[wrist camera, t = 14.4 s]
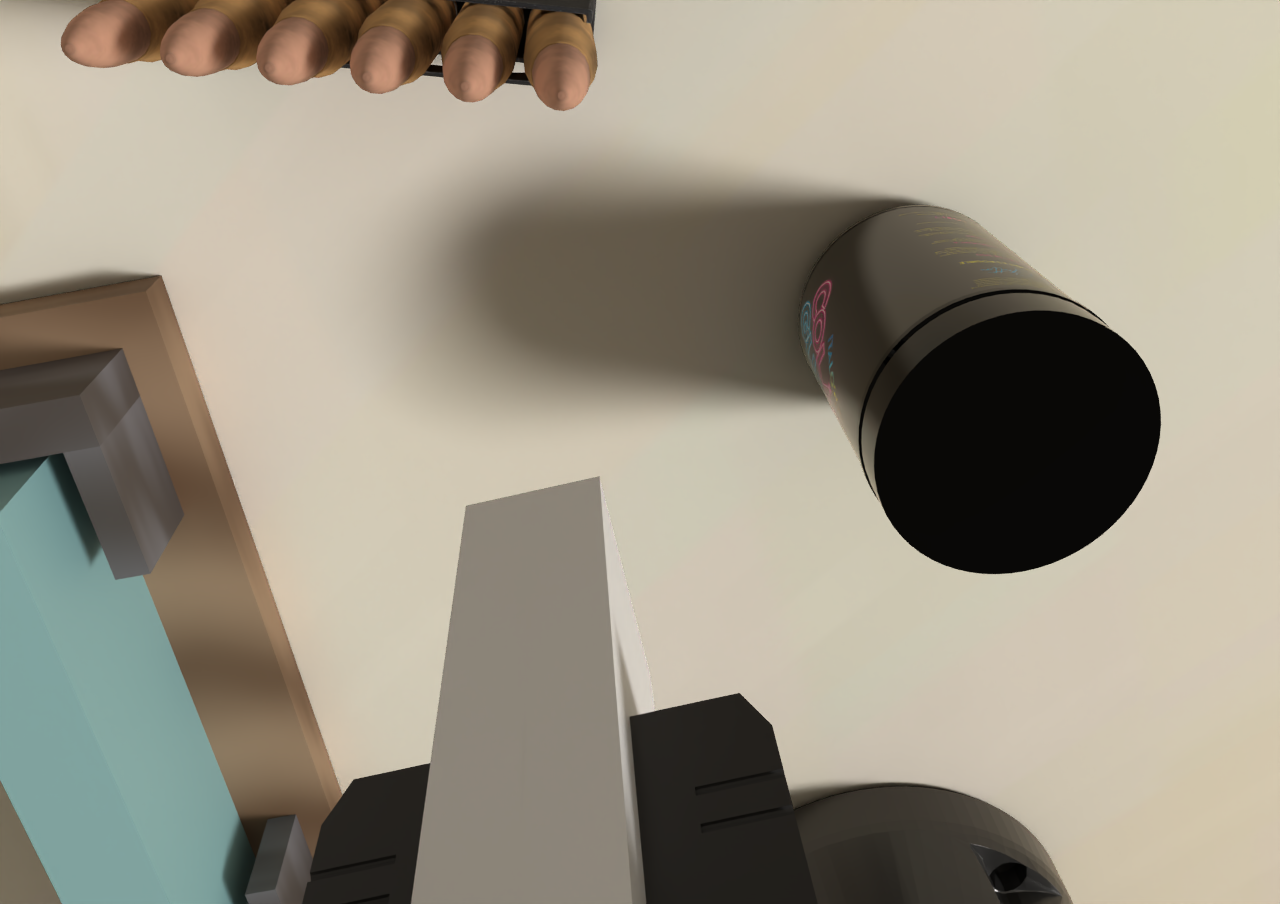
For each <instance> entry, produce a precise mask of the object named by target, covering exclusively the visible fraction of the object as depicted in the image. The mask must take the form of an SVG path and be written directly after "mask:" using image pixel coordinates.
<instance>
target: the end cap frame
mask: <svg viewBox="0 0 1280 904" xmlns="http://www.w3.org/2000/svg"><path fill="white" fill-rule="evenodd" d="M60 453H63V454H64V456H65V459H66V461H67V464H68V466H69V469H70V471H71V473H72V476H73V478H74V481H75V483H76V486H77V488H78V490H79V493H80V495H81V498H82V500H83V503H84V505H85V507H86V510H87V512H88V515H89V517H90V520H91V522H92V524H93V527H94V529H95V532H96V534H97V537H98V539H99V541H100V544H101V546H102V549H103V551H104V554H105V556H106V559H107V561H108V563H109V566H110V568H111V571H112V573H113V576H114V578H115V580H118V579H124V578H129V577H135V576H141V575H143V577H144V580H145V582H146V585H147V587H148V590H149V592H150V595H151V597H152V600H153V602H154V605H155V607H156V610H157V612H158V615H159V617H160V620H161V622H162V625H163V627H164V630H165V632H166V635H167V637H168V640H169V642H170V645H171V647H172V650H173V652H174V655H175V657H176V660H177V662H178V665H179V667H180V670H181V672H182V675H183V677H184V680H185V682H186V685H187V688H188V690H189V693H190V695H191V698H192V700H193V703H194V705H195V708H196V710H197V713H198V715H199V718H200V720H201V723H202V725H203V728H204V730H205V733H206V735H207V738H208V740H209V743H210V745H211V748H212V750H213V753H214V755H215V758H216V760H217V763H218V765H219V768H220V770H221V773H222V775H223V778H224V780H225V783H226V785H227V788H228V790H229V793H230V795H231V798H232V800H233V803H234V805H235V808H236V810H237V813H238V816H239V818H240V821H241V823H242V826H243V828H244V831H245V833H246V836H247V838H248V841H249V843H250V846H251V848H252V851H253V853H254V856H255V858H256V860H255V863H254V866H253V870H252V873H251V876H250V880H249V883H248V886H247V889H246V893H245V896H246V899H247V901H248V904H302V902H303V898H304V894H305V890H306V886H307V882H311V876H310V869H311V865H312V861H313V857H314V853H315V849H316V845H317V841H318V837H319V832H320V828H321V825H322V823H323V822H324V821H325V819H326V818H327V816H328V815H329V814H330V812H331V811H332V809H333V808H334V807H335V805H336V804H337V802H338V801H339V800H340V798H341V797H342V793H341V790H340V787H339V784H338V781H337V779H336V776H335V773H334V770H333V767H332V764H331V761H330V759H329V756H328V753H327V750H326V747H325V744H324V741H323V738H322V736H321V733H320V730H319V727H318V724H317V721H316V718H315V715H314V713H313V710H312V707H311V704H310V701H309V698H308V695H307V692H306V690H305V687H304V684H303V681H302V678H301V675H300V672H299V670H298V667H297V664H296V661H295V658H294V655H293V652H292V649H291V647H290V644H289V641H288V638H287V635H286V632H285V629H284V626H283V624H282V621H281V618H280V615H279V612H278V609H277V606H276V603H275V601H274V598H273V595H272V592H271V589H270V586H269V583H268V580H267V578H266V575H265V572H264V569H263V566H262V563H261V560H260V558H259V555H258V552H257V549H256V546H255V543H254V540H253V537H252V535H251V532H250V529H249V526H248V523H247V520H246V517H245V514H244V512H243V509H242V506H241V503H240V500H239V497H238V494H237V491H236V489H235V486H234V483H233V480H232V477H231V474H230V471H229V469H228V466H227V463H226V460H225V457H224V454H223V451H222V448H221V446H220V443H219V440H218V437H217V434H216V431H215V428H214V425H213V423H212V420H211V417H210V414H209V411H208V408H207V405H206V402H205V400H204V397H203V394H202V391H201V388H200V385H199V382H198V380H197V377H196V374H195V371H194V368H193V365H192V362H191V359H190V357H189V354H188V351H187V348H186V345H185V342H184V339H183V336H182V334H181V331H180V328H179V325H178V322H177V319H176V316H175V313H174V311H173V308H172V305H171V302H170V299H169V296H168V293H167V290H166V288H165V285H164V282H163V279H162V276H156V277H151V278H145V279H140V280H134V281H128V282H123V283H117V284H112V285H106V286H101V287H95V288H90V289H84V290H79V291H73V292H68V293H62V294H56V295H51V296H45V297H40V298H34V299H29V300H23V301H18V302H12V303H7V304H1V305H0V464H4V463H9V462H15V461H21V460H26V459H32V458H37V457H43V456H48V455H54V454H60Z"/></svg>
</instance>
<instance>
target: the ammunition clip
mask: <svg viewBox="0 0 1280 904" xmlns="http://www.w3.org/2000/svg"><path fill="white" fill-rule="evenodd" d="M595 8H596V0H102V1H100V2H99V3H98V4H95V5H92V6H89V7H88V8H86V9H85V10H83V11H82V12H81V13H79V14H78V15H77V16H76V17H74V18H73V19H72V20H71V21H70V22H69V24H68V25H67V27H66V29H65V31H64V33H63V35H62V38H61V47H62V51H63V52H64V54H65V55H66V56H67V57H68V58H69V59H70V60H72V61H74V62H76V63H78V64H81V65H84V66H88V67H98V68H108V67H116V66H119V65H123V64H126V63H132V62H135V61H145V62H155V61H158V60H162V61H163V63H164V65H165V66H166V67H167V68H169V69H170V70H171V71H174V72H176V73H178V74H181V75H184V76H196V77H198V76H205V75H209V74H213V73H216V72H219V71H222V70H225V69H231V70H238V69H242V68H245V67H249V66H251V65H253V64H255V63H256V62H257V65H258V69H259V71H260V72H261V74H262V75H263V76H264V77H265V78H266V79H267V80H269V81H271V82H274V83H276V84H281V85H294V84H298V83H301V82H305V81H307V80H309V79H310V78H313V77H316V78H320V77H323V76H327V75H331V74H333V73H334V72H336V71H337V70H338V69H340V68H350V69H351V75H352V77H353V79H354V81H355V82H356V84H357V85H358V86H359V87H360V88H362V89H363V90H365V91H368V92H370V93H378V94H382V93H386V92H389V91H392V90H395V89H397V88H398V87H399V86H401V85H404V84H407V83H411V82H413V81H415V80H416V79H418V78H419V77H420V76H422V75H425V76H436V77H444V82H445V84H446V86H447V88H448V90H449V92H450V93H451V94H453V95H454V96H455V97H456V98H457V99H460V100H462V101H464V102H476V101H480V100H483V99H484V98H486V97H487V96H488V95H490V94H491V93H493V92H494V90H496V89H497V88H498V87H500V86H501V85H502V84H504V83H510V84H520V85H531V86H533V87H534V89H535V91H536V93H537V95H538V97H539V98H540V100H541V101H542V102H543V103H544V104H545V105H546V106H548V107H550V108H552V109H554V110H561V111H565V110H569V109H572V108H574V107H576V106H577V105H578V104H580V103H581V101H582V100H583V98H584V97H585V95H586V94H587V92H588V89H589V86H590V85H591V83H592V82H593V80H594V78H595V74H596V70H597V66H598V65H597V53H596V47H595V42H594V37H593V33H594V21H595ZM438 54H440V55H441V56H442V64H443V66H438V65H431V63H432V62H433V60H434V59H435V57H436V56H437V55H438ZM515 62H522V63H524V67H525V73H512V71H513V69H514V65H515Z"/></svg>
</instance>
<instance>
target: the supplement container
mask: <svg viewBox="0 0 1280 904" xmlns="http://www.w3.org/2000/svg"><path fill="white" fill-rule="evenodd" d="M798 329H799V338H800V342H801V347H802V350H803V353H804V356H805V358H806V360H807V362H808V365H809V367H810V369H811V370H812V372H813V374H814V376H815V378H816V380H817V382H818V384H819V386H820V387H821V389H822V391H823V393H824V395H825V397H826V399H827V401H828V403H829V404H830V406H831V408H832V410H833V412H834V414H835V416H836V418H837V420H838V422H839V423H840V425H841V427H842V429H843V431H844V433H845V435H846V437H847V439H848V440H849V442H850V444H851V446H852V448H853V450H854V452H855V454H856V456H857V457H858V459H859V461H860V463H861V466H862V469H863V472H864V475H865V477H866V479H867V481H868V484H869V486H870V488H871V489H872V491H873V493H874V494H875V496H876V497H877V499H878V500H879V502H880V504H881V506H882V508H883V509H884V511H885V513H886V515H887V517H888V518H889V520H890V522H891V523H892V525H893V526H894V528H895V529H896V530H897V531H898V533H899V534H900V535H901V536H902V537H903V538H904V539H905V540H906V541H907V542H908V543H909V544H910V545H911V546H912V547H914V548H915V549H916V550H918V551H919V552H920V553H922V554H924V555H925V556H927V557H929V558H930V559H932V560H934V561H936V562H939V563H941V564H943V565H946V566H949V567H952V568H955V569H958V570H963V571H967V572H974V573H982V574H1005V573H1015V572H1022V571H1027V570H1031V569H1035V568H1039V567H1042V566H1045V565H1048V564H1051V563H1054V562H1056V561H1059V560H1061V559H1063V558H1066V557H1067V556H1069V555H1071V554H1073V553H1075V552H1077V551H1079V550H1080V549H1082V548H1084V547H1085V546H1087V545H1088V544H1090V543H1091V542H1093V541H1094V540H1095V539H1097V538H1098V537H1099V536H1101V535H1102V534H1103V533H1104V532H1106V531H1107V530H1108V529H1109V528H1110V527H1111V526H1112V525H1113V524H1114V523H1115V522H1116V521H1117V520H1118V519H1119V518H1120V517H1121V516H1122V515H1123V514H1124V513H1125V511H1126V510H1127V509H1128V508H1129V506H1130V505H1131V504H1132V503H1133V501H1134V500H1135V498H1136V497H1137V495H1138V494H1139V492H1140V491H1141V489H1142V487H1143V485H1144V483H1145V481H1146V479H1147V478H1148V475H1149V473H1150V470H1151V468H1152V466H1153V463H1154V459H1155V456H1156V453H1157V449H1158V444H1159V439H1160V428H1161V413H1160V404H1159V398H1158V394H1157V390H1156V387H1155V384H1154V381H1153V379H1152V376H1151V374H1150V372H1149V370H1148V368H1147V367H1146V365H1145V363H1144V361H1143V360H1142V359H1141V357H1140V356H1139V355H1138V353H1137V352H1136V351H1135V350H1134V349H1133V348H1132V347H1131V346H1130V344H1129V343H1128V342H1127V341H1125V340H1124V339H1123V338H1122V337H1120V336H1119V335H1118V334H1117V333H1116V332H1114V331H1113V330H1112V329H1111V328H1109V327H1108V326H1107V325H1106V324H1105V323H1104V322H1103V320H1102V319H1100V318H1099V317H1098V316H1097V315H1095V314H1094V313H1093V312H1092V311H1090V310H1089V309H1088V308H1086V307H1085V306H1083V305H1081V304H1080V303H1078V302H1076V301H1074V300H1072V299H1071V298H1070V297H1069V296H1067V295H1066V294H1065V293H1064V292H1062V291H1061V290H1060V289H1059V288H1057V287H1056V286H1055V285H1054V284H1053V283H1051V282H1050V281H1049V280H1048V279H1046V278H1045V277H1044V276H1043V275H1041V274H1040V273H1039V272H1038V271H1036V270H1035V269H1034V268H1033V267H1031V266H1030V265H1029V264H1028V263H1027V262H1025V261H1024V260H1023V259H1022V258H1020V257H1019V256H1018V255H1017V254H1015V253H1014V252H1013V251H1012V250H1010V249H1009V248H1008V247H1007V246H1005V245H1004V244H1003V243H1002V242H1001V241H999V240H998V239H997V238H996V237H994V236H993V235H992V234H991V233H989V232H988V231H987V230H986V229H984V228H983V227H982V226H981V225H979V224H978V223H977V222H975V221H974V220H972V219H971V218H969V217H967V216H965V215H963V214H961V213H959V212H956V211H953V210H950V209H947V208H942V207H938V206H930V205H908V206H900V207H895V208H891V209H887V210H884V211H881V212H878V213H876V214H873V215H871V216H868V217H866V218H865V219H863V220H861V221H859V222H857V223H856V224H854V225H853V226H851V227H850V228H848V229H847V230H846V231H844V232H843V233H842V234H841V235H839V236H838V237H837V238H836V239H835V240H834V241H833V242H832V243H831V244H830V245H829V246H828V247H827V249H826V250H825V251H824V252H823V253H822V255H821V256H820V257H819V259H818V260H817V262H816V263H815V265H814V267H813V269H812V270H811V272H810V274H809V276H808V279H807V281H806V283H805V286H804V289H803V292H802V296H801V300H800V305H799V314H798Z"/></svg>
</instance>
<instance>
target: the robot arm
mask: <svg viewBox="0 0 1280 904" xmlns="http://www.w3.org/2000/svg"><path fill="white" fill-rule="evenodd" d="M310 876H311V882H307V886H306V890H305V894H304V898H303V902H302V904H1073V902H1072V900H1071V898H1070V896H1069V894H1068V892H1067V890H1066V888H1065V886H1064V884H1063V882H1062V880H1061V878H1060V876H1059V874H1058V872H1057V870H1056V868H1055V866H1054V864H1053V862H1052V860H1051V858H1050V856H1049V855H1048V853H1047V852H1046V850H1045V849H1044V847H1043V846H1042V844H1041V843H1040V842H1039V841H1038V840H1037V838H1036V837H1035V836H1034V835H1033V834H1032V833H1031V832H1030V831H1029V830H1028V829H1027V828H1026V827H1024V826H1023V825H1022V824H1021V823H1020V822H1018V821H1017V820H1016V819H1014V818H1013V817H1011V816H1010V815H1008V814H1007V813H1005V812H1003V811H1001V810H1000V809H998V808H996V807H994V806H992V805H990V804H988V803H985V802H983V801H980V800H978V799H975V798H972V797H969V796H966V795H962V794H959V793H954V792H950V791H945V790H939V789H933V788H923V787H882V788H871V789H864V790H858V791H853V792H848V793H843V794H839V795H836V796H832V797H828V798H825V799H822V800H819V801H816V802H813V803H811V804H808V805H805V806H803V807H800V808H798V809H796V810H793V805H792V801H791V797H790V793H789V790H788V786H787V782H786V778H785V775H784V770H783V766H782V762H781V758H780V755H779V751H778V747H777V743H776V739H775V735H774V731H773V727H772V725H771V724H770V723H769V722H768V721H767V720H766V719H765V718H764V717H763V716H762V715H761V714H760V713H759V712H758V711H757V710H756V709H755V708H754V707H753V706H752V705H751V704H750V703H749V702H748V701H747V700H746V699H745V698H744V697H743V696H742V695H741V694H740V693H738V694H733V695H728V696H723V697H719V698H714V699H709V700H705V701H700V702H695V703H691V704H686V705H681V706H677V707H672V708H667V709H663V710H658V711H655V706H654V698H653V690H652V682H651V675H650V671H649V667H648V663H647V659H646V656H645V652H644V648H643V644H642V640H641V636H640V632H639V628H638V624H637V621H636V617H635V613H634V609H633V605H632V601H631V597H630V593H629V589H628V585H627V582H626V578H625V574H624V570H623V566H622V562H621V558H620V554H619V550H618V547H617V543H616V539H615V535H614V531H613V527H612V523H611V519H610V515H609V511H608V508H607V504H606V500H605V496H604V492H603V488H602V484H601V480H600V476H599V477H595V478H590V479H586V480H581V481H576V482H572V483H567V484H563V485H558V486H554V487H549V488H545V489H540V490H536V491H531V492H527V493H522V494H518V495H513V496H509V497H504V498H500V499H495V500H491V501H486V502H481V503H477V504H472V505H468V506H466V510H465V517H464V524H463V531H462V539H461V546H460V553H459V560H458V568H457V575H456V582H455V589H454V596H453V604H452V611H451V618H450V625H449V633H448V640H447V647H446V654H445V662H444V669H443V676H442V683H441V690H440V698H439V705H438V712H437V719H436V727H435V734H434V741H433V748H432V756H431V763H429V764H424V765H420V766H415V767H410V768H406V769H401V770H396V771H392V772H387V773H382V774H378V775H373V776H368V777H364V778H359V779H354V780H353V781H352V783H351V784H350V786H349V787H348V788H347V790H346V791H345V793H344V794H343V795H342V797H341V798H340V800H339V801H338V802H337V804H336V805H335V807H334V808H333V809H332V811H331V812H330V814H329V815H328V816H327V818H326V819H325V821H324V822H323V823H322V825H321V828H320V832H319V837H318V841H317V845H316V849H315V853H314V857H313V861H312V865H311V869H310Z"/></svg>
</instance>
